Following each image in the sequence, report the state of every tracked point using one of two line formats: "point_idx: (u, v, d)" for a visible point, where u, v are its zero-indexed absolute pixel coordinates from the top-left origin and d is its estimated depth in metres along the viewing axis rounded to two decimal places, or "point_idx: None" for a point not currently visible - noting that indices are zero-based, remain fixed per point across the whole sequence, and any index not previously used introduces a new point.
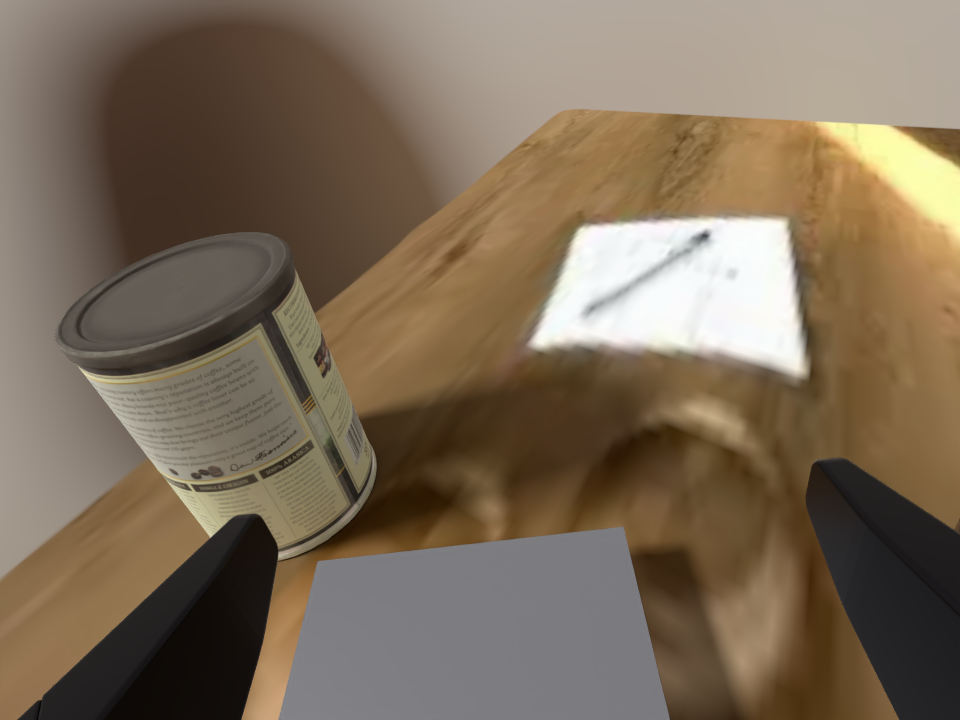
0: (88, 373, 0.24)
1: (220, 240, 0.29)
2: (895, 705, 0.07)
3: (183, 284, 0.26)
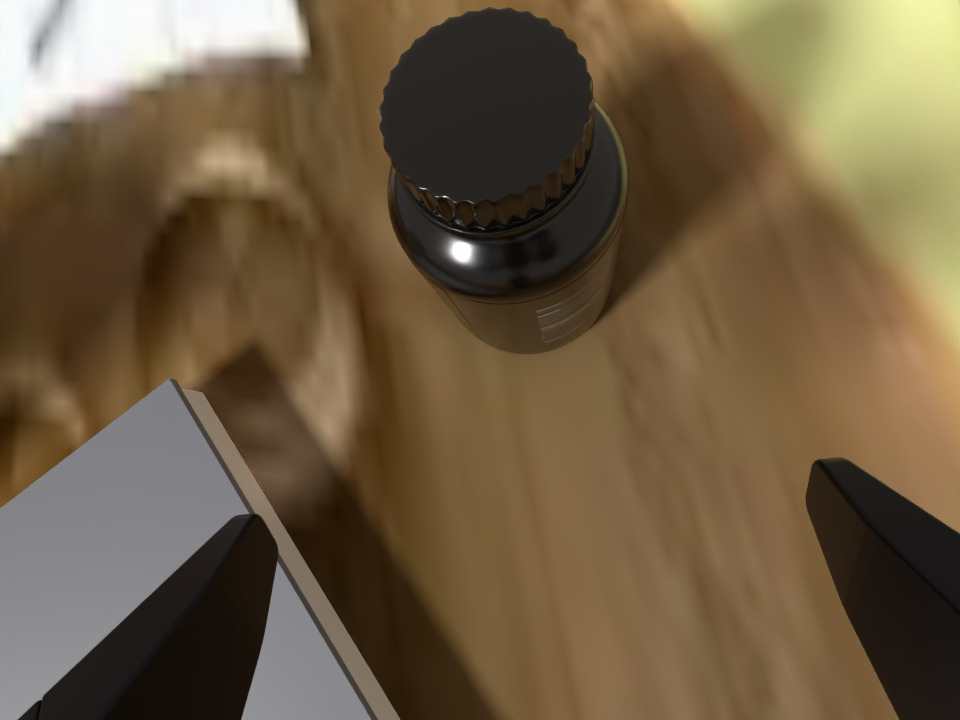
0: None
1: None
2: (895, 705, 0.07)
3: None
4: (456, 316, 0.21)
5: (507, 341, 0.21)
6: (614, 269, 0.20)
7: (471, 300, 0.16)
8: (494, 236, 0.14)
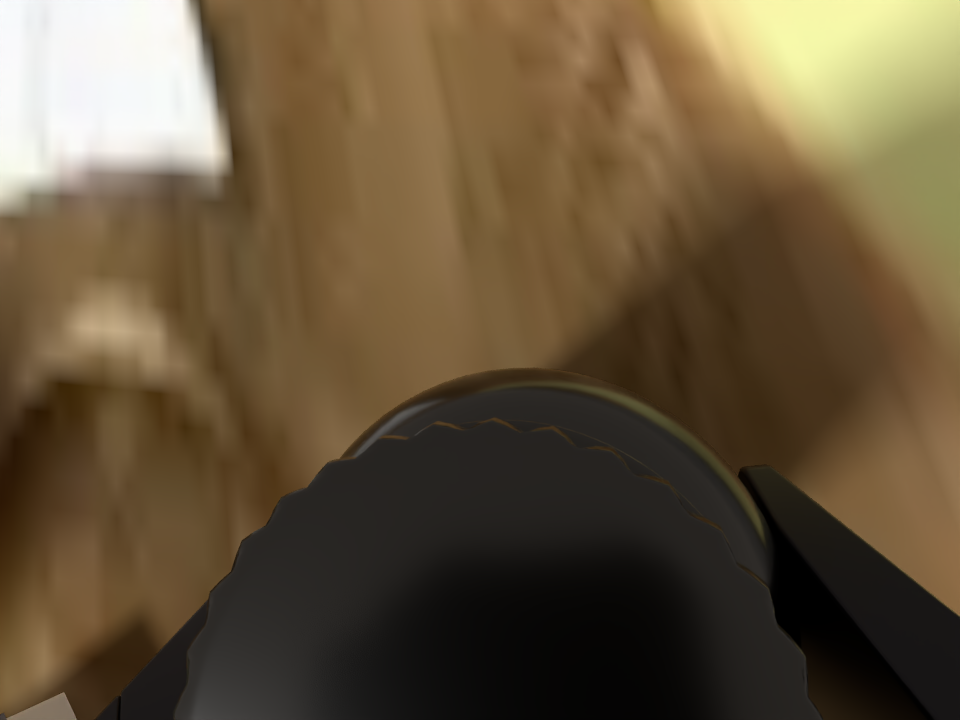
0: None
1: None
2: None
3: None
4: None
5: None
6: None
7: None
8: None
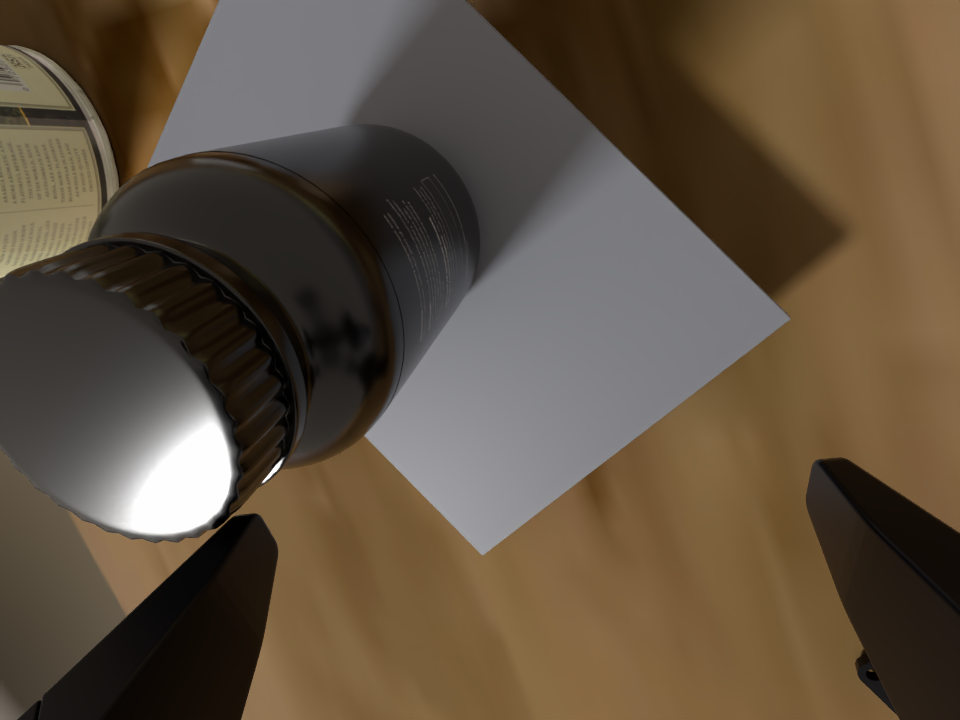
0: None
1: None
2: (895, 705, 0.07)
3: None
4: None
5: (445, 324, 0.17)
6: (412, 167, 0.15)
7: (374, 424, 0.13)
8: (297, 439, 0.10)
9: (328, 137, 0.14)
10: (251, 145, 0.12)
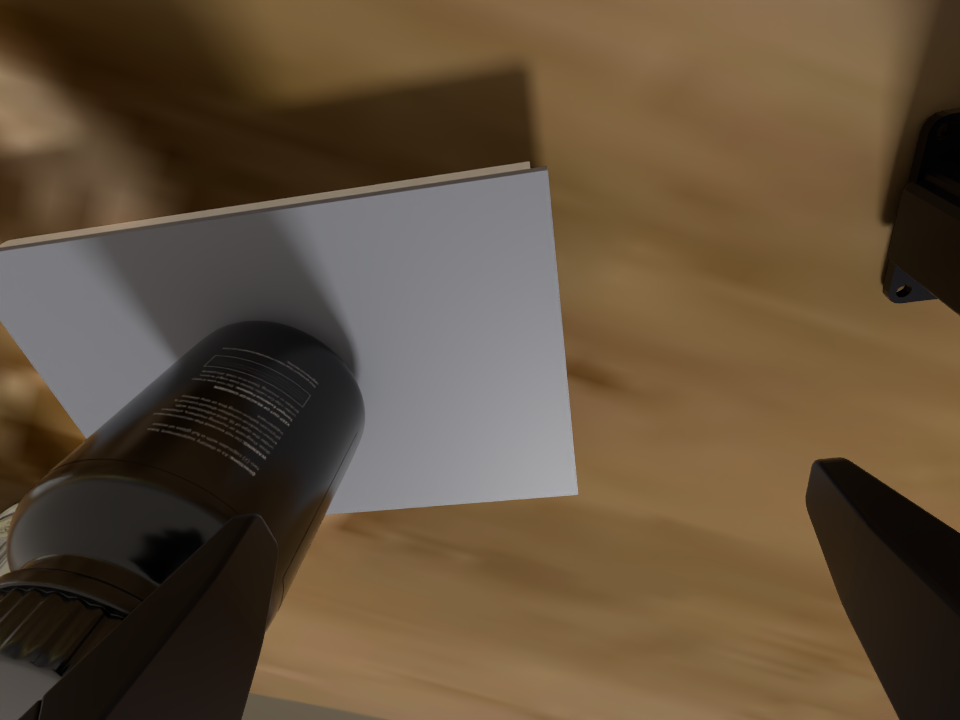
0: None
1: None
2: (895, 705, 0.07)
3: None
4: (343, 475, 0.20)
5: (335, 424, 0.18)
6: (196, 362, 0.17)
7: None
8: None
9: None
10: None
